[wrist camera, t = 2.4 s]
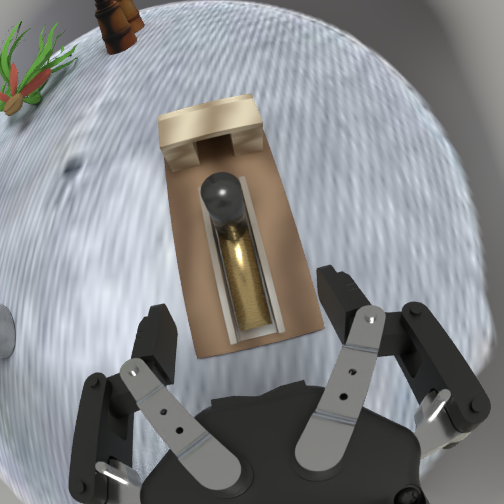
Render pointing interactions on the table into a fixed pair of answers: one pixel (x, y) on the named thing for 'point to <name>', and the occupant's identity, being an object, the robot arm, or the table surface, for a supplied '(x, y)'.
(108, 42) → the binoculars
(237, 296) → the brass sliding bolt
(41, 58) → the decorative plant
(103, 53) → the table surface
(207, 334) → the guide
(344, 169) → the table surface
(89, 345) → the table surface
